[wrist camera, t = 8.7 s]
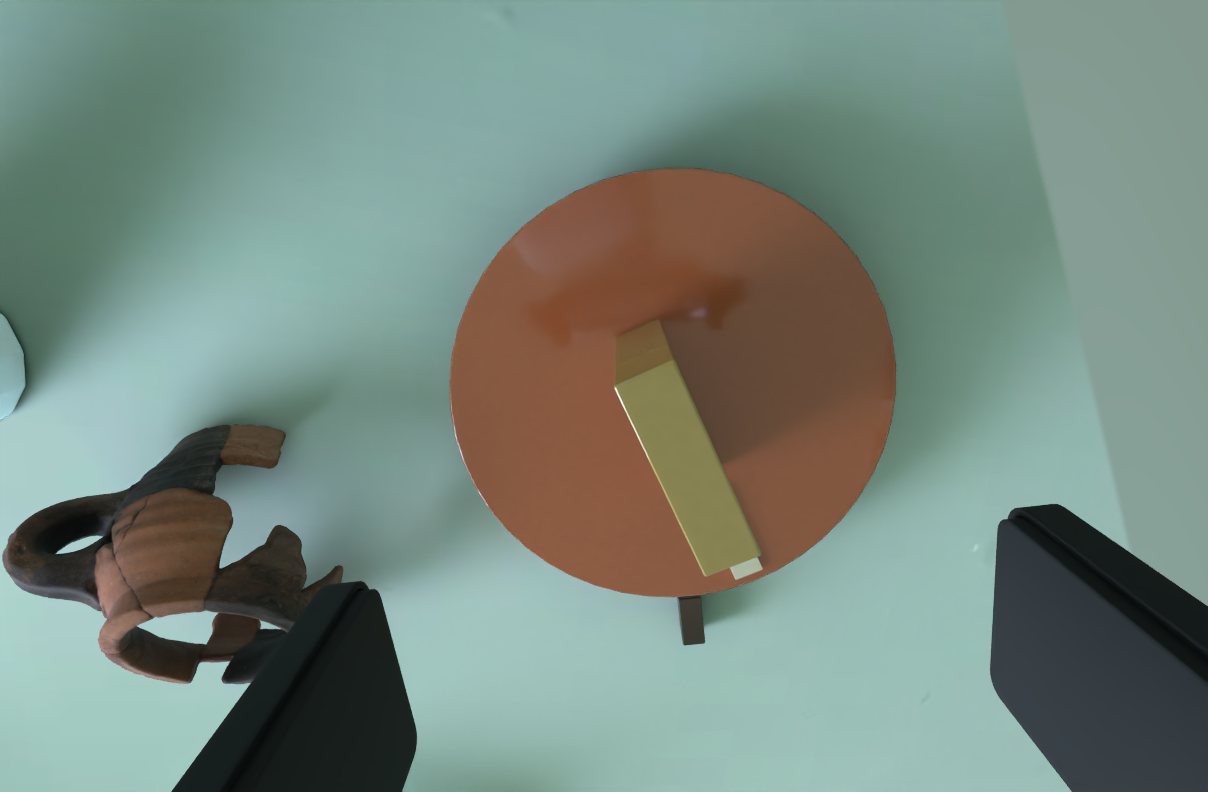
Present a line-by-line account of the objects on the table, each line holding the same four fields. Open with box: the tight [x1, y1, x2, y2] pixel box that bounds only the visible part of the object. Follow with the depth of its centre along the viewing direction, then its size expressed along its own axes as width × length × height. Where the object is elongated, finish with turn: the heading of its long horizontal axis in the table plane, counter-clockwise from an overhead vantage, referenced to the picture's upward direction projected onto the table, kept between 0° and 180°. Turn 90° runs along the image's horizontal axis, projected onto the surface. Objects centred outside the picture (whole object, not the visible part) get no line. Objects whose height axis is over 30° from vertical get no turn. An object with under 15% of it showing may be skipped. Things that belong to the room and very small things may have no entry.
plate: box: [449, 168, 896, 597], centre depth 22 cm, size 17×17×8 cm
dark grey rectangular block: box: [677, 595, 705, 645], centre depth 28 cm, size 17×10×2 cm, turn 7°
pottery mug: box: [2, 425, 343, 684], centre depth 27 cm, size 12×10×8 cm
